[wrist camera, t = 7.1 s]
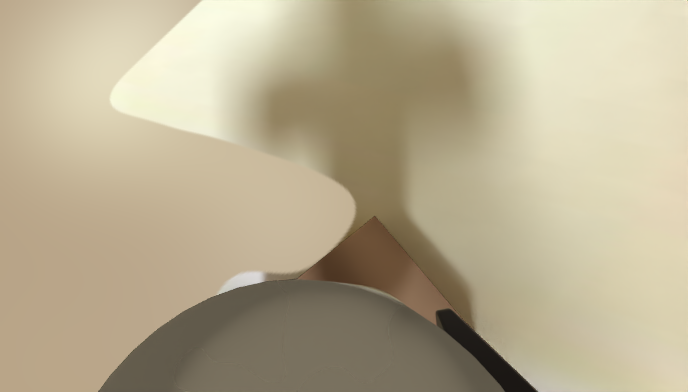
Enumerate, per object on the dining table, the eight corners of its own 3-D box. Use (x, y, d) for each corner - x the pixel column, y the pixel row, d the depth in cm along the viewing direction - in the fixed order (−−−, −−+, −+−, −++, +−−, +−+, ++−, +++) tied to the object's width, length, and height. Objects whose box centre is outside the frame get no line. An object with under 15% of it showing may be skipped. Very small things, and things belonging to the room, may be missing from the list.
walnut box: (354, 452, 20) (349, 480, 17) (263, 315, 23) (246, 319, 20) (476, 344, 21) (492, 354, 18) (375, 224, 24) (375, 215, 21)
